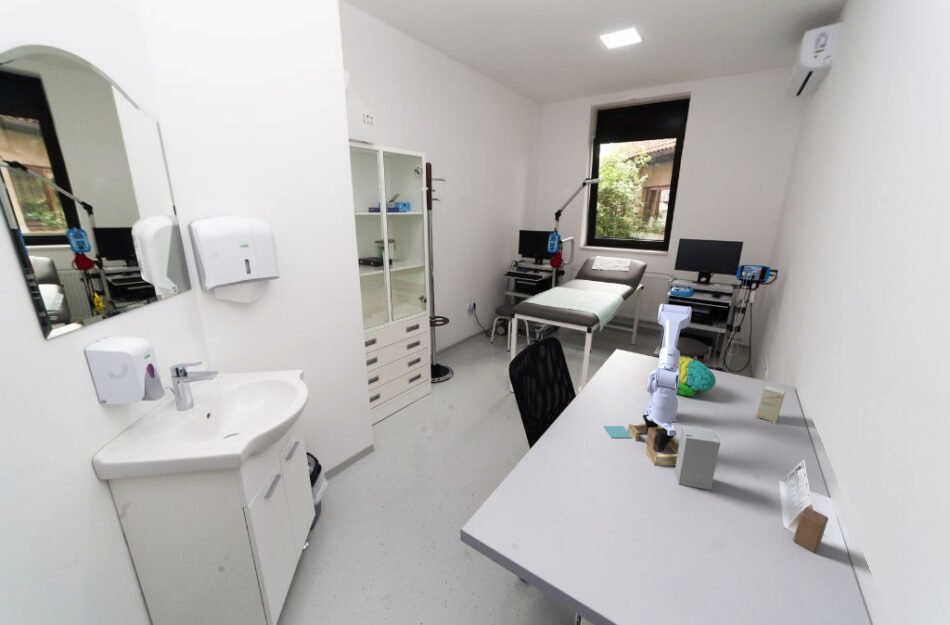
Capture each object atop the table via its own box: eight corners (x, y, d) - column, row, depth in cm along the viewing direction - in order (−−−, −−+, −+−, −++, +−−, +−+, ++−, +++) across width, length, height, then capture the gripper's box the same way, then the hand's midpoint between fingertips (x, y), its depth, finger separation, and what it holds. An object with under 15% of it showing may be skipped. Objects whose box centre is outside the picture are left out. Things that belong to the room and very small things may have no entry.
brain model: (720, 393, 157) (724, 360, 154) (702, 406, 146) (707, 371, 143) (664, 377, 175) (667, 347, 172) (644, 387, 164) (647, 355, 161)
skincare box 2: (755, 417, 139) (763, 388, 136) (757, 413, 142) (764, 384, 139) (776, 424, 135) (784, 394, 132) (778, 419, 138) (785, 390, 135)
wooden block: (792, 541, 85) (800, 513, 83) (797, 533, 87) (806, 505, 85) (814, 554, 82) (824, 525, 80) (819, 545, 84) (829, 516, 82)
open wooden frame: (658, 431, 128) (659, 423, 128) (689, 464, 111) (691, 456, 110) (627, 431, 128) (628, 423, 127) (654, 465, 110) (656, 456, 110)
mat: (622, 426, 131) (622, 425, 131) (631, 438, 124) (631, 437, 124) (603, 426, 130) (603, 426, 130) (611, 438, 124) (611, 437, 124)
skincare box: (705, 476, 106) (715, 428, 102) (711, 493, 99) (723, 442, 95) (672, 469, 109) (681, 422, 105) (677, 485, 102) (686, 435, 98)
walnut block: (657, 443, 121) (660, 427, 120) (664, 450, 118) (667, 434, 116) (646, 443, 121) (648, 427, 120) (652, 450, 117) (655, 434, 116)
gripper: (638, 394, 122) (633, 430, 126) (662, 417, 108) (655, 456, 112) (659, 394, 123) (653, 430, 126) (685, 417, 109) (677, 456, 112)
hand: (655, 442), depth 119 cm, fingers open, 6 cm apart
